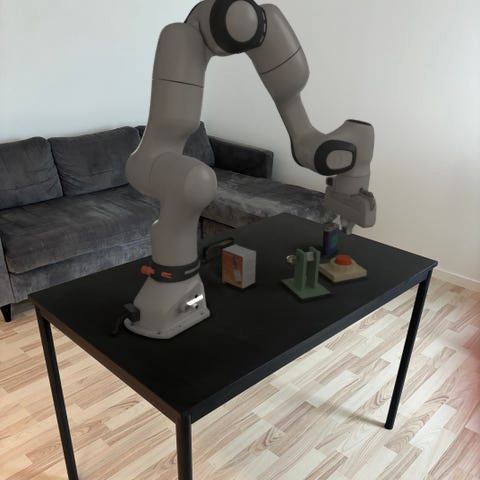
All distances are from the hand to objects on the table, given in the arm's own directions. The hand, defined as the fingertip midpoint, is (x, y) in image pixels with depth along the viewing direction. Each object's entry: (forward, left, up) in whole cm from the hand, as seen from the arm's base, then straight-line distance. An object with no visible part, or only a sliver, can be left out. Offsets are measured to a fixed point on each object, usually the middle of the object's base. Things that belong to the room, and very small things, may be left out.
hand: (346, 232), depth 136 cm
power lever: (-12, +9, -7) cm, 16 cm away
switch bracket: (-14, +6, -13) cm, 20 cm away
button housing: (0, 0, -13) cm, 13 cm away
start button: (0, 0, -9) cm, 9 cm away
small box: (-20, +24, -14) cm, 34 cm away
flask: (+15, +9, -14) cm, 22 cm away
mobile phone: (-5, +40, -14) cm, 42 cm away
